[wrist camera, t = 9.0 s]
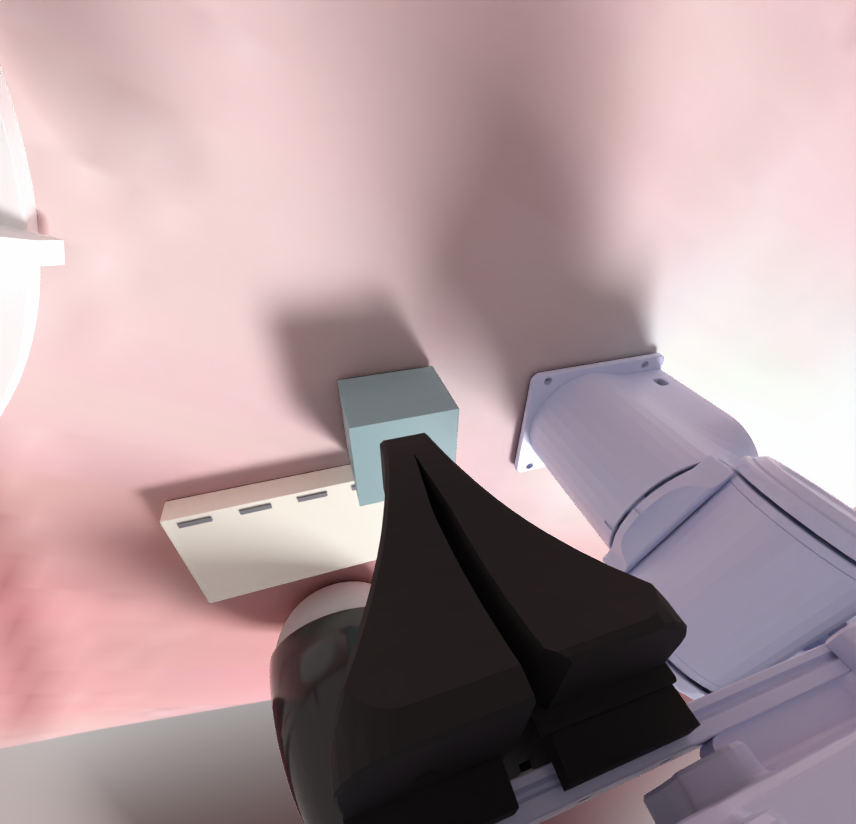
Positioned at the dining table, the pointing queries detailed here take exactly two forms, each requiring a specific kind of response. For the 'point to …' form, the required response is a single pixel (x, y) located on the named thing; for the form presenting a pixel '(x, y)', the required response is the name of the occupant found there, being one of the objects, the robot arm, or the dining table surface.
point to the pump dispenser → (313, 691)
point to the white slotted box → (273, 532)
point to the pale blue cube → (393, 420)
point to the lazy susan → (18, 251)
